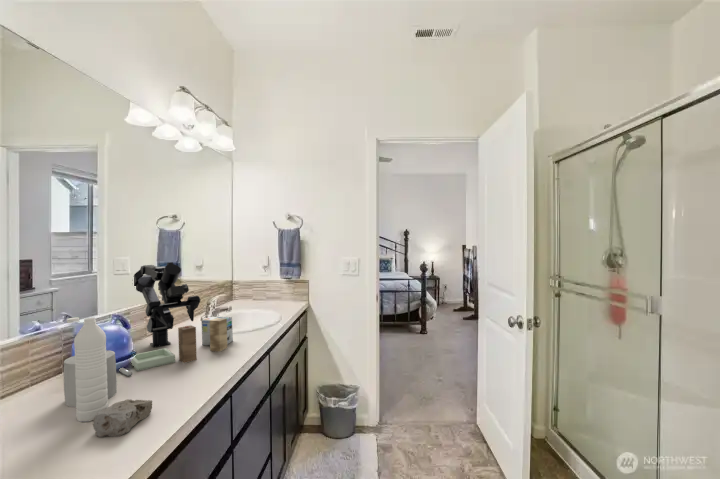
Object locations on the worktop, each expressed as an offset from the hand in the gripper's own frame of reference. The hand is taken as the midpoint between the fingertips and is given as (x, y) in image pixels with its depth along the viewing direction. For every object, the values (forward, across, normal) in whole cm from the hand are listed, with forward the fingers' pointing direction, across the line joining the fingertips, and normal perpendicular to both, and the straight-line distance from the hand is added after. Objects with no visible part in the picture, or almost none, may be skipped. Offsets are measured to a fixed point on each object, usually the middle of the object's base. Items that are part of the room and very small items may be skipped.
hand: (180, 323), depth 137 cm
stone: (+39, -29, -20) cm, 52 cm away
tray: (+8, -10, +10) cm, 16 cm away
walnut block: (+13, 0, +4) cm, 14 cm away
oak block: (+11, +13, +7) cm, 19 cm away
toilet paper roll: (+21, -31, -3) cm, 38 cm away
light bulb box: (+5, +17, +13) cm, 22 cm away
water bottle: (+30, -34, -12) cm, 47 cm away
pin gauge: (+12, -19, +6) cm, 23 cm away
